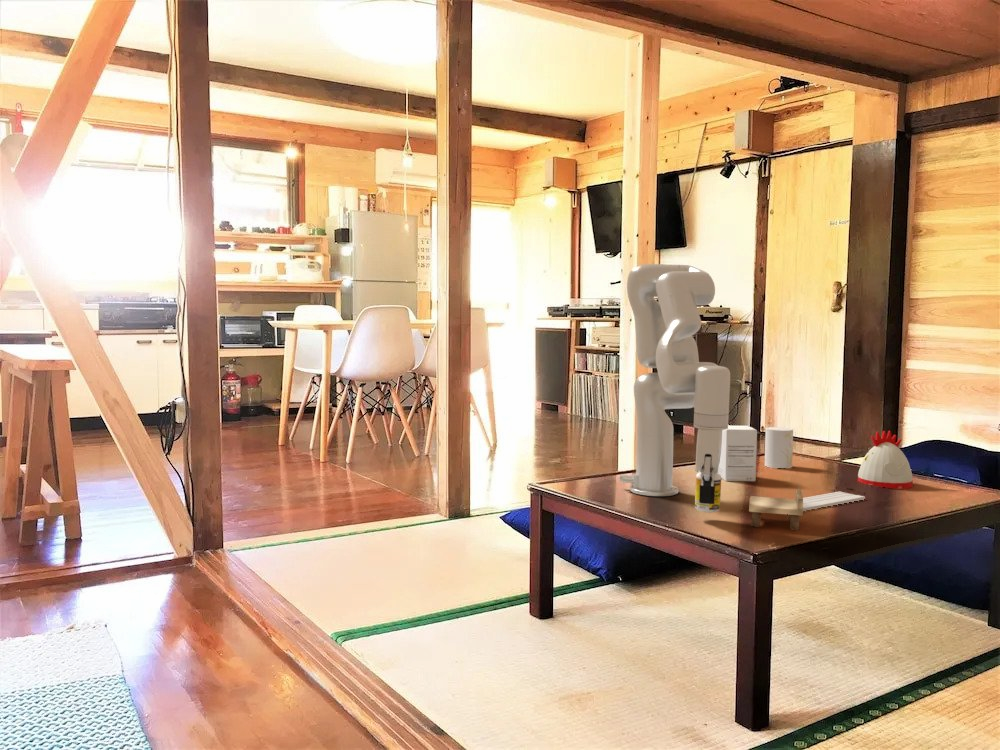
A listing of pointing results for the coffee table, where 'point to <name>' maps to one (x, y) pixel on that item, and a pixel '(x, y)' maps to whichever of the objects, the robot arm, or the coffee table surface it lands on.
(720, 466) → the supplement box
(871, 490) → the coffee table surface
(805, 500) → the baseboard
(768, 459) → the cup
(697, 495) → the supplement bottle
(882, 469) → the kitchen timer
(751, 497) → the shelf
